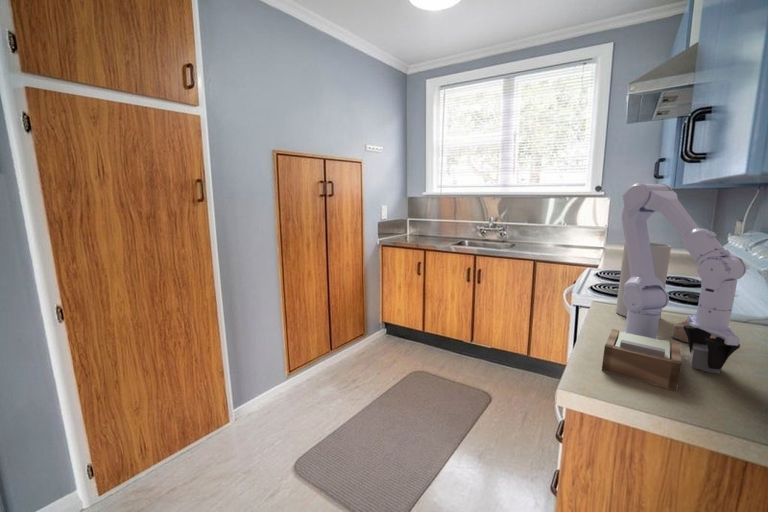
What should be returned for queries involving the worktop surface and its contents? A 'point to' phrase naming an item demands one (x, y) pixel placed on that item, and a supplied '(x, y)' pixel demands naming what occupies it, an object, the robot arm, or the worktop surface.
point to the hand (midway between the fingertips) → (705, 361)
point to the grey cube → (701, 358)
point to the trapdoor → (644, 344)
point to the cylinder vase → (660, 268)
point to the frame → (642, 364)
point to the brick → (683, 332)
